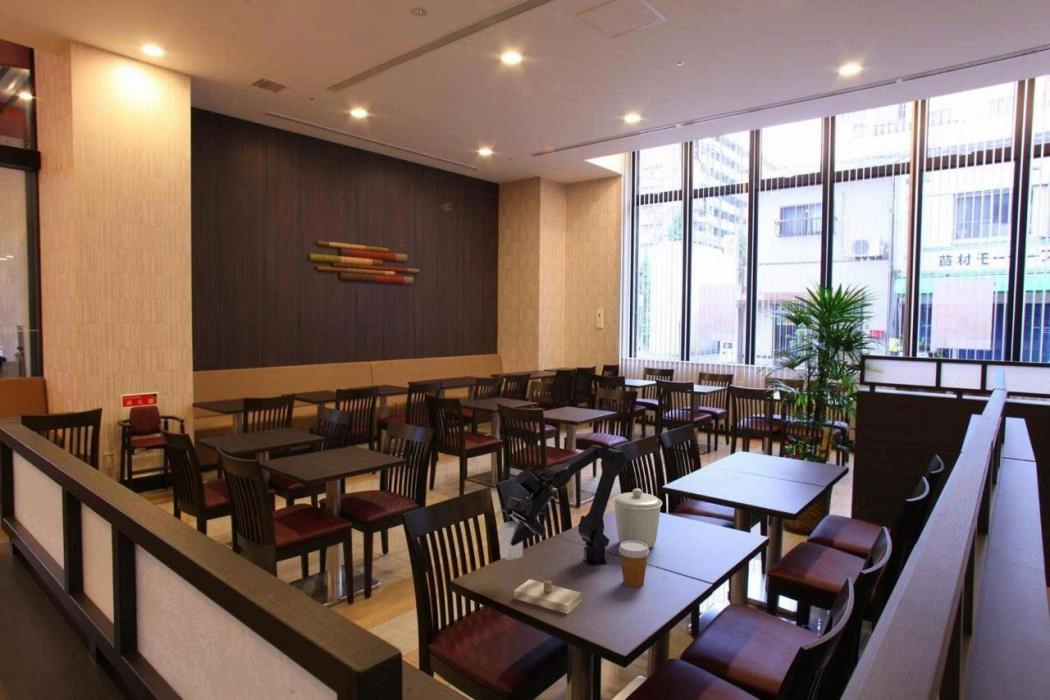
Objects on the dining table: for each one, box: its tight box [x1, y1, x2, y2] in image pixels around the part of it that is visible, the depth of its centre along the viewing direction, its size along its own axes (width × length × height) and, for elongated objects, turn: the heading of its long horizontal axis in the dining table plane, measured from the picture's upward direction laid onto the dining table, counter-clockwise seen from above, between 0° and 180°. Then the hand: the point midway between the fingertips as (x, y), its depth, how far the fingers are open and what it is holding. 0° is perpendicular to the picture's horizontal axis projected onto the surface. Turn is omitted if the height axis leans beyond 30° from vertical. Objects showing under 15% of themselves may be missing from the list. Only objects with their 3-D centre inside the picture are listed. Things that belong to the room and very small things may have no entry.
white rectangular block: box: [499, 521, 524, 561], centre depth 188 cm, size 5×5×10 cm
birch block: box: [513, 578, 583, 615], centre depth 177 cm, size 18×9×6 cm, turn 58°
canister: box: [612, 488, 663, 549], centre depth 220 cm, size 18×18×21 cm
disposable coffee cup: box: [618, 541, 650, 588], centre depth 188 cm, size 10×10×12 cm
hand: (507, 542), depth 188 cm, fingers closed on white rectangular block, 5 cm apart
